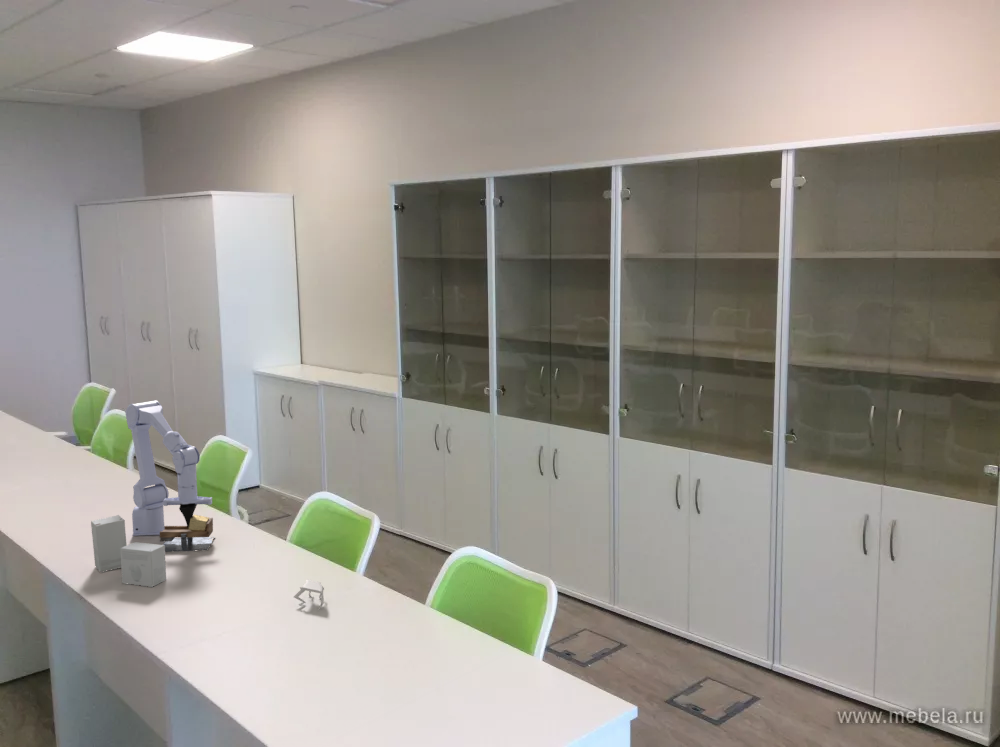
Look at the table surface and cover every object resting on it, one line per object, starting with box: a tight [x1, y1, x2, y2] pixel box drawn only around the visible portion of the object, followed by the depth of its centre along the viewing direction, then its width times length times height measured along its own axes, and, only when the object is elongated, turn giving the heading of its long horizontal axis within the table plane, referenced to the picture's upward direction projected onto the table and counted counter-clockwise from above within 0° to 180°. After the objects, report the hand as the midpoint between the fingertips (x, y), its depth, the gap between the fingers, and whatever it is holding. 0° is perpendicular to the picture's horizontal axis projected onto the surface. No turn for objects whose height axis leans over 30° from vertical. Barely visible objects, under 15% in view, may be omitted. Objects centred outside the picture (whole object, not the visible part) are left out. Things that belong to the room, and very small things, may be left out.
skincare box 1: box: [90, 514, 128, 573], centre depth 249 cm, size 8×6×15 cm
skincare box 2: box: [120, 541, 167, 588], centre depth 239 cm, size 10×6×10 cm, turn 74°
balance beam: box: [159, 517, 214, 542], centre depth 269 cm, size 15×6×6 cm, turn 97°
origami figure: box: [293, 578, 325, 611], centre depth 225 cm, size 12×8×5 cm
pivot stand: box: [162, 534, 213, 553], centre depth 270 cm, size 15×12×5 cm
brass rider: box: [188, 514, 211, 531], centre depth 269 cm, size 5×4×4 cm
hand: (189, 526), depth 269 cm, fingers closed, pressing on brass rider
